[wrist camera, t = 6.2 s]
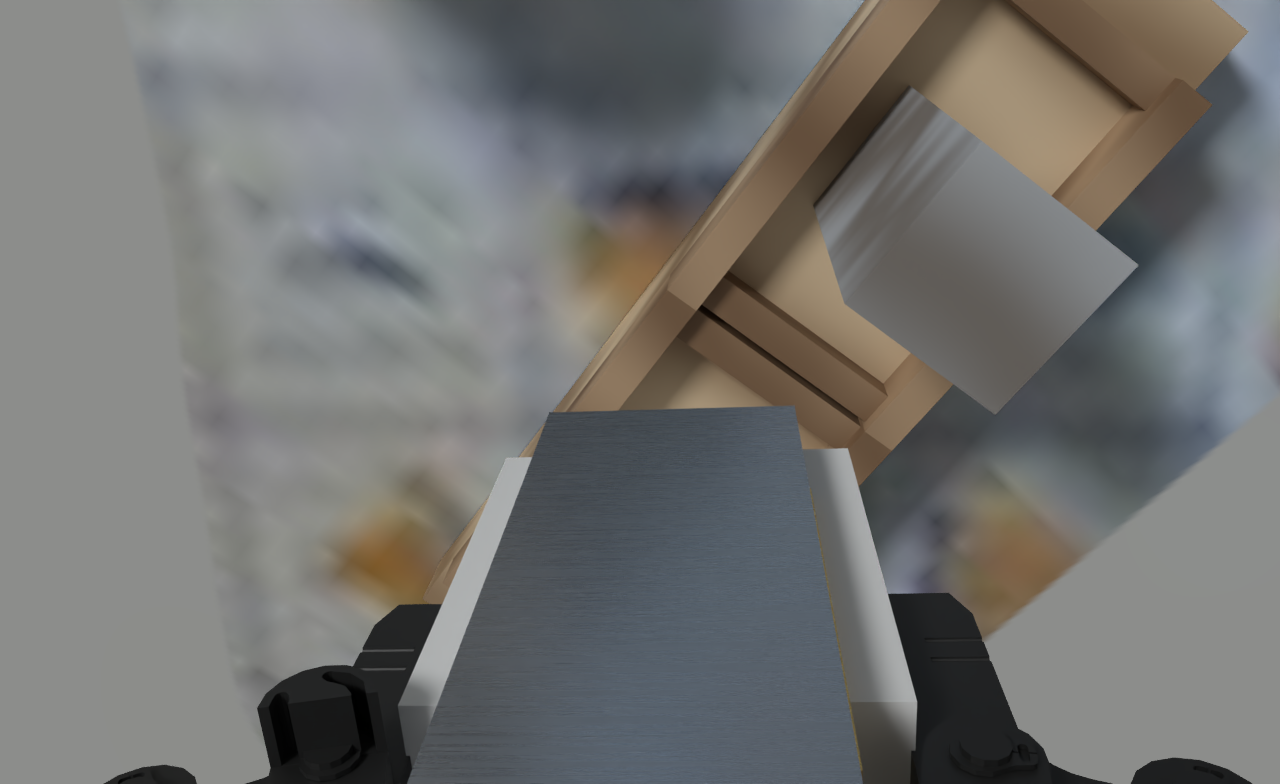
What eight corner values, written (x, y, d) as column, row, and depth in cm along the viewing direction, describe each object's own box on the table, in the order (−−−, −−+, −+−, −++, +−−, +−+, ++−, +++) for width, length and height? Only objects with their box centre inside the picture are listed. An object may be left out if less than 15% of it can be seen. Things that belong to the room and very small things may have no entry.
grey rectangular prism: (801, 405, 17) (878, 804, 9) (801, 617, 19) (870, 1132, 10) (549, 412, 18) (398, 803, 9) (569, 621, 19) (453, 1122, 11)
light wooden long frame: (988, -163, 28) (1141, -229, 18) (1208, 24, 30) (1473, 68, 19) (441, 559, 38) (329, 794, 28) (624, 676, 40) (585, 943, 29)
